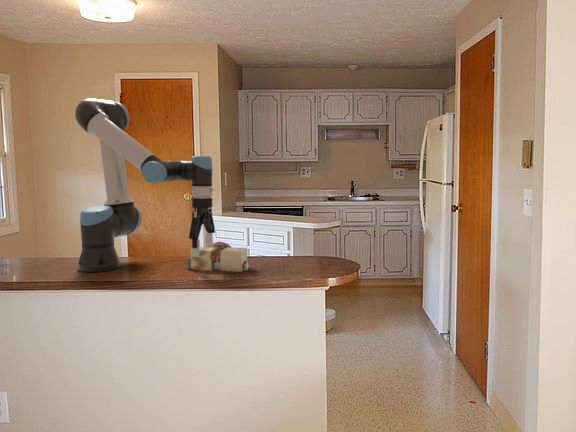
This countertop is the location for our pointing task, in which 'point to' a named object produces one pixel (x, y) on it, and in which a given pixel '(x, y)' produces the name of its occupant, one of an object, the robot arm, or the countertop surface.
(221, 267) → the rail
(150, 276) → the countertop surface
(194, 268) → the slotted tan cube
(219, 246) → the seashell
